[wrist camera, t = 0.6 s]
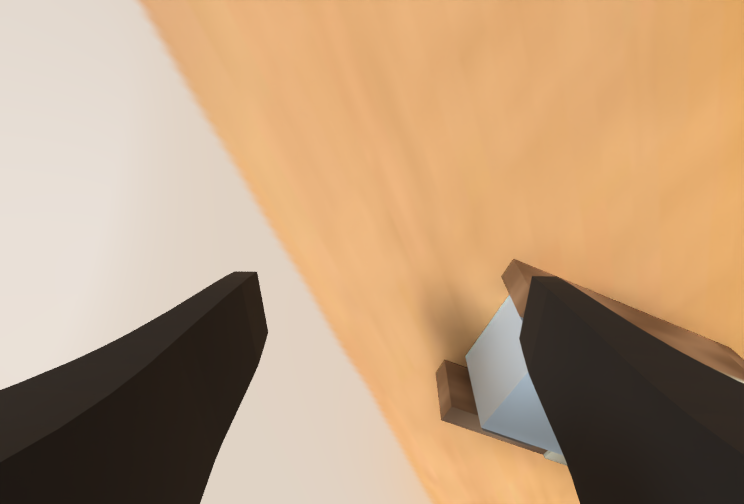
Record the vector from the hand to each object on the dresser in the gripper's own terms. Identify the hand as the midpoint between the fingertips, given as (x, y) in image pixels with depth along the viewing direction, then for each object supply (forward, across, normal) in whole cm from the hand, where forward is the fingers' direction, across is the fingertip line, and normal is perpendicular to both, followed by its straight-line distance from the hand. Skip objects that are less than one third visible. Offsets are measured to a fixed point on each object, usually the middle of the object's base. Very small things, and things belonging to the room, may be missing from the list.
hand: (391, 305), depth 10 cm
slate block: (+10, -8, +9) cm, 15 cm away
